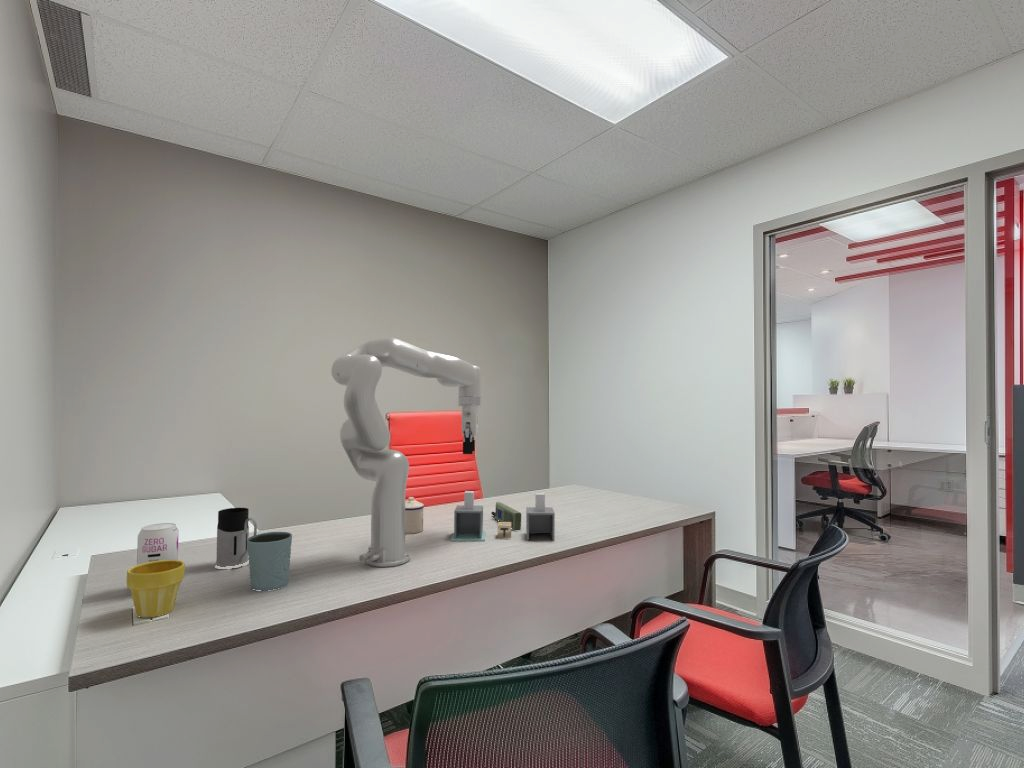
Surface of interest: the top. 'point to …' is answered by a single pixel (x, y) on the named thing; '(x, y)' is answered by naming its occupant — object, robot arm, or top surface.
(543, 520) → the cover
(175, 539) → the supplement can
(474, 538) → the mat
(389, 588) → the top surface
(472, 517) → the cover
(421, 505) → the teacup with lid
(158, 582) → the plant pot
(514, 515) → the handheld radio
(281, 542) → the teal cup
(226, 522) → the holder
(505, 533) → the letter cube
